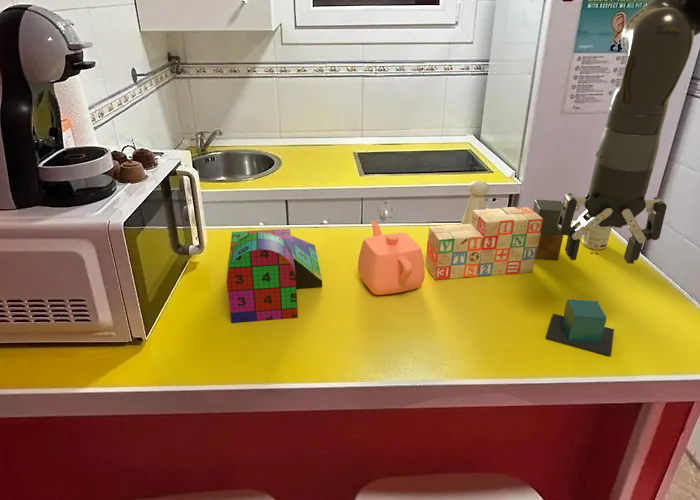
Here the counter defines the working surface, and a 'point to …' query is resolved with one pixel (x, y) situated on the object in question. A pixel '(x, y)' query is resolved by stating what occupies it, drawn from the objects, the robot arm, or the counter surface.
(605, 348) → the rubber mat
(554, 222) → the charcoal middle block
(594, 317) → the teal top block
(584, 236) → the energy drink
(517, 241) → the stack of blocks
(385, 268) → the teapot
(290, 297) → the checkered arched block
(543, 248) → the walnut base block
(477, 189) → the beige tapered round-topped piece
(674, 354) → the counter surface
